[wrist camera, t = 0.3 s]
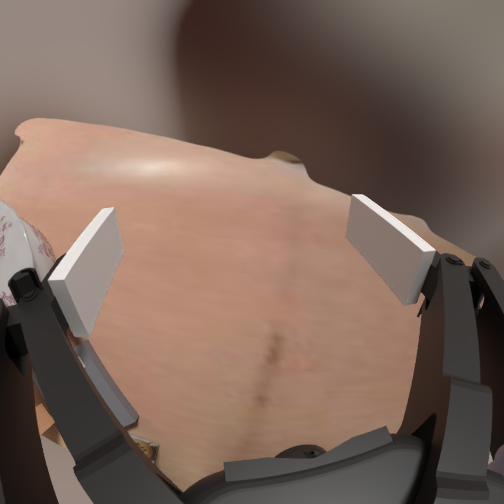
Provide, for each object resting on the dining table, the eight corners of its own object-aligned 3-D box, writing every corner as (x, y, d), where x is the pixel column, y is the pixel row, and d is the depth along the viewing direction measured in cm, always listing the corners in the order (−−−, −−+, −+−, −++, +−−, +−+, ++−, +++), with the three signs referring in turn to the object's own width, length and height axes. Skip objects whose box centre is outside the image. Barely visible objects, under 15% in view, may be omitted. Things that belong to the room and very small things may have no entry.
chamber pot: (-18, 263, 41) (-75, 256, 21) (50, 192, 46) (-7, 157, 26) (29, 369, 41) (-27, 396, 21) (108, 308, 46) (51, 323, 26)
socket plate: (138, 415, 45) (134, 424, 41) (82, 438, 41) (75, 446, 38) (87, 339, 45) (79, 343, 41) (36, 371, 42) (27, 376, 38)
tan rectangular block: (59, 417, 41) (38, 437, 31) (45, 423, 40) (25, 442, 30) (47, 399, 41) (23, 416, 31) (33, 406, 40) (10, 422, 30)
